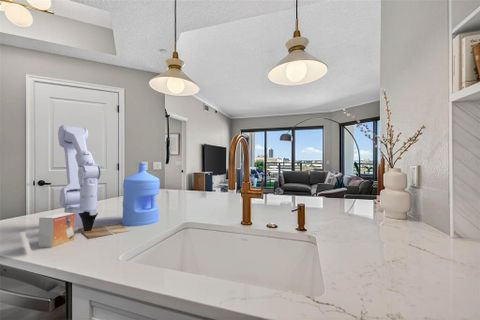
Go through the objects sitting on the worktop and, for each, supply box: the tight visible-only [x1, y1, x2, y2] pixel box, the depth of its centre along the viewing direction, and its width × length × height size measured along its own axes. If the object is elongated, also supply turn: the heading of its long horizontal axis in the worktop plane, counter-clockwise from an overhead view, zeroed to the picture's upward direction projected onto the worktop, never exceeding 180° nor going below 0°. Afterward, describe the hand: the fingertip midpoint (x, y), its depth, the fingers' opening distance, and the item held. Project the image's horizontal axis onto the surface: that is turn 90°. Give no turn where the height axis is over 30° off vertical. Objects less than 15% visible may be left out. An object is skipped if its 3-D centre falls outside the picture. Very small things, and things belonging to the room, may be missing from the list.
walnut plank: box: [77, 225, 114, 240], centre depth 89 cm, size 16×8×1 cm, turn 46°
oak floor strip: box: [101, 222, 132, 235], centre depth 95 cm, size 16×6×1 cm, turn 46°
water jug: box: [121, 162, 161, 227], centre depth 107 cm, size 16×16×28 cm
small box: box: [37, 211, 75, 249], centre depth 77 cm, size 8×6×10 cm
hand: (87, 230), depth 90 cm, fingers closed, pressing on walnut plank
